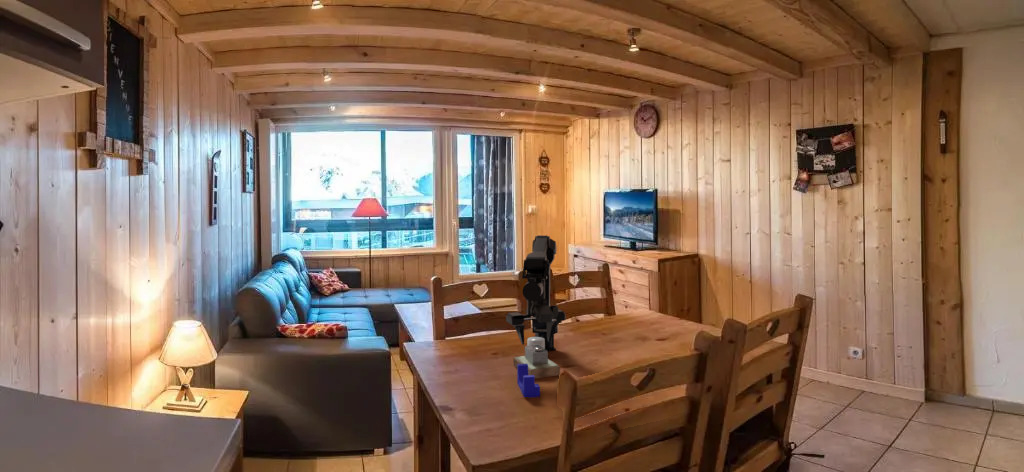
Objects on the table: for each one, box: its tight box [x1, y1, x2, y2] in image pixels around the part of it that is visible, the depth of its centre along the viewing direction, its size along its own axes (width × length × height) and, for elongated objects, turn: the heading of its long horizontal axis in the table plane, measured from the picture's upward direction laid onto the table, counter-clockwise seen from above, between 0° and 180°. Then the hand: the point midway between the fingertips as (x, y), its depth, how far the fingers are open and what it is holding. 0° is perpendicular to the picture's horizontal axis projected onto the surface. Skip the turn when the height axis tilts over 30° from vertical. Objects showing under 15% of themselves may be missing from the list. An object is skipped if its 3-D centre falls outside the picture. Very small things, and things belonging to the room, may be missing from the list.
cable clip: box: [516, 364, 541, 398], centre depth 155 cm, size 12×4×6 cm, turn 8°
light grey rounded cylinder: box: [526, 336, 545, 349], centre depth 184 cm, size 6×6×7 cm
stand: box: [513, 355, 561, 379], centre depth 173 cm, size 10×14×3 cm
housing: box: [524, 345, 549, 365], centre depth 172 cm, size 5×8×5 cm, turn 17°
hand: (536, 343), depth 172 cm, fingers open, 9 cm apart
